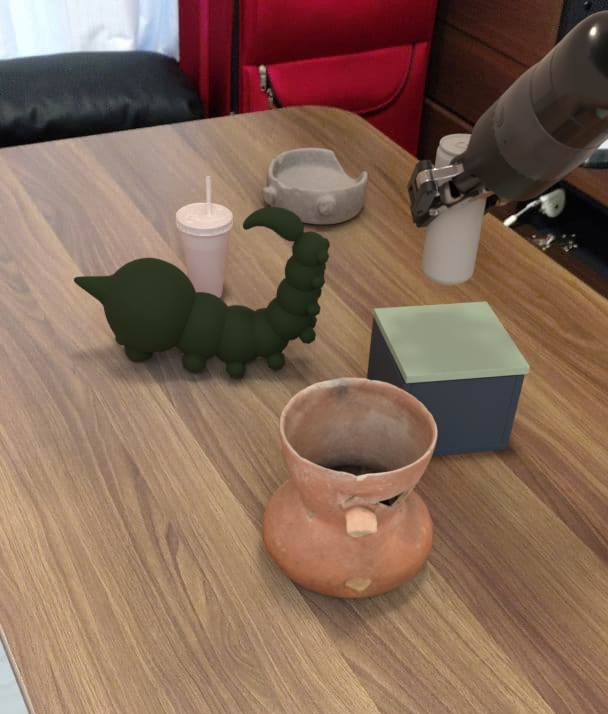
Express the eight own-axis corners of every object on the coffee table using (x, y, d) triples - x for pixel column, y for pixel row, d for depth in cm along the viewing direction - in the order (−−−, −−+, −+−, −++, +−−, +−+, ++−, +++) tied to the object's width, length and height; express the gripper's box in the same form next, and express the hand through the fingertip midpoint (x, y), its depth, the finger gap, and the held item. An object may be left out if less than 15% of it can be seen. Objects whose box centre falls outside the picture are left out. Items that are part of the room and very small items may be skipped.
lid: (528, 374, 89) (530, 366, 88) (405, 383, 87) (406, 375, 86) (485, 308, 97) (486, 301, 97) (373, 315, 96) (373, 308, 95)
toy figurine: (310, 356, 109) (85, 324, 107) (336, 194, 95) (80, 156, 94) (306, 406, 102) (66, 374, 100) (334, 240, 89) (58, 199, 87)
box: (507, 449, 96) (525, 375, 89) (392, 460, 94) (403, 384, 88) (471, 381, 104) (485, 308, 97) (365, 389, 102) (373, 316, 96)
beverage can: (458, 293, 87) (480, 161, 79) (411, 277, 89) (428, 146, 81) (481, 271, 90) (504, 142, 82) (434, 256, 92) (453, 128, 84)
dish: (303, 173, 139) (305, 138, 135) (385, 202, 133) (389, 166, 130) (240, 208, 130) (240, 171, 127) (325, 240, 125) (327, 203, 121)
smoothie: (231, 308, 112) (230, 191, 102) (176, 306, 112) (169, 188, 102) (235, 280, 117) (234, 165, 107) (181, 277, 116) (176, 162, 107)
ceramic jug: (439, 629, 79) (467, 498, 69) (260, 626, 78) (262, 494, 68) (417, 482, 91) (438, 354, 82) (262, 479, 91) (265, 350, 81)
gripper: (466, 190, 69) (381, 265, 86) (635, 168, 73) (523, 243, 90) (443, 86, 69) (362, 181, 86) (613, 70, 73) (505, 163, 90)
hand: (445, 212), depth 88 cm, fingers closed on beverage can, 5 cm apart
